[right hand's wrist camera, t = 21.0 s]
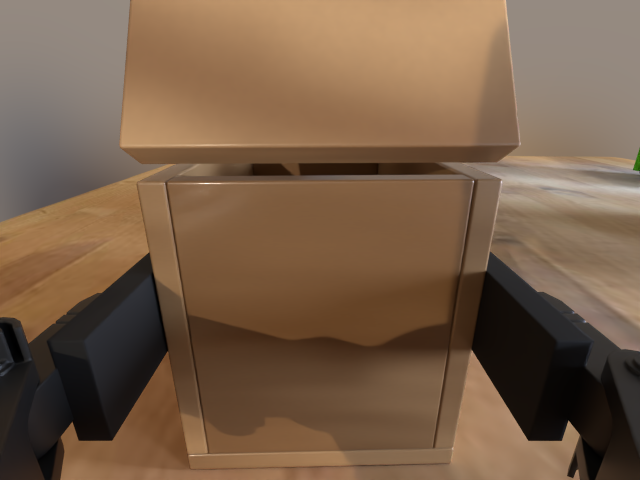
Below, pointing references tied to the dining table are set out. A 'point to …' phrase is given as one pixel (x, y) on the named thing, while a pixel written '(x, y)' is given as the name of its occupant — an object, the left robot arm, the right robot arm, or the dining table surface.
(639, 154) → the toy car
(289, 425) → the chest
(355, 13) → the lid
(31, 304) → the dining table surface
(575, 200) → the dining table surface
